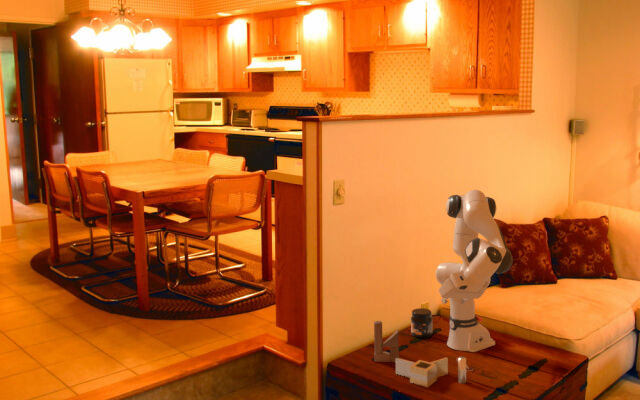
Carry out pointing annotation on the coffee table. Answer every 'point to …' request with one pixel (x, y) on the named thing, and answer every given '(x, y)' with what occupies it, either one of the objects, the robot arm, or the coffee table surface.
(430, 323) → the supplement container
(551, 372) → the coffee table surface
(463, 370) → the rounded cylinder
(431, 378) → the cream winged socket block
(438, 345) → the coffee table surface
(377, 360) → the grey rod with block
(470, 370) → the key
